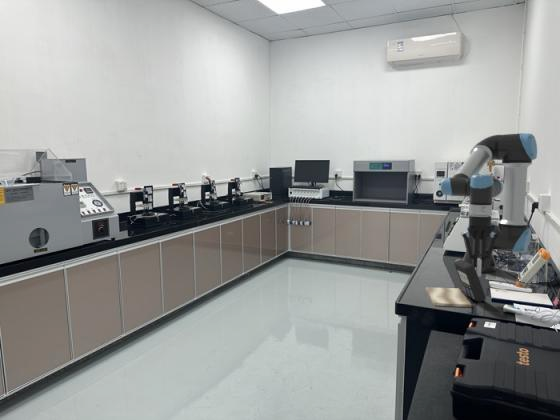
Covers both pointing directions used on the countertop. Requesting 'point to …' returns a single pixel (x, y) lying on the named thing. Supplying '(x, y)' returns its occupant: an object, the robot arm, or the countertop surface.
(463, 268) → the card reader
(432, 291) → the birch board
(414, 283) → the countertop surface
